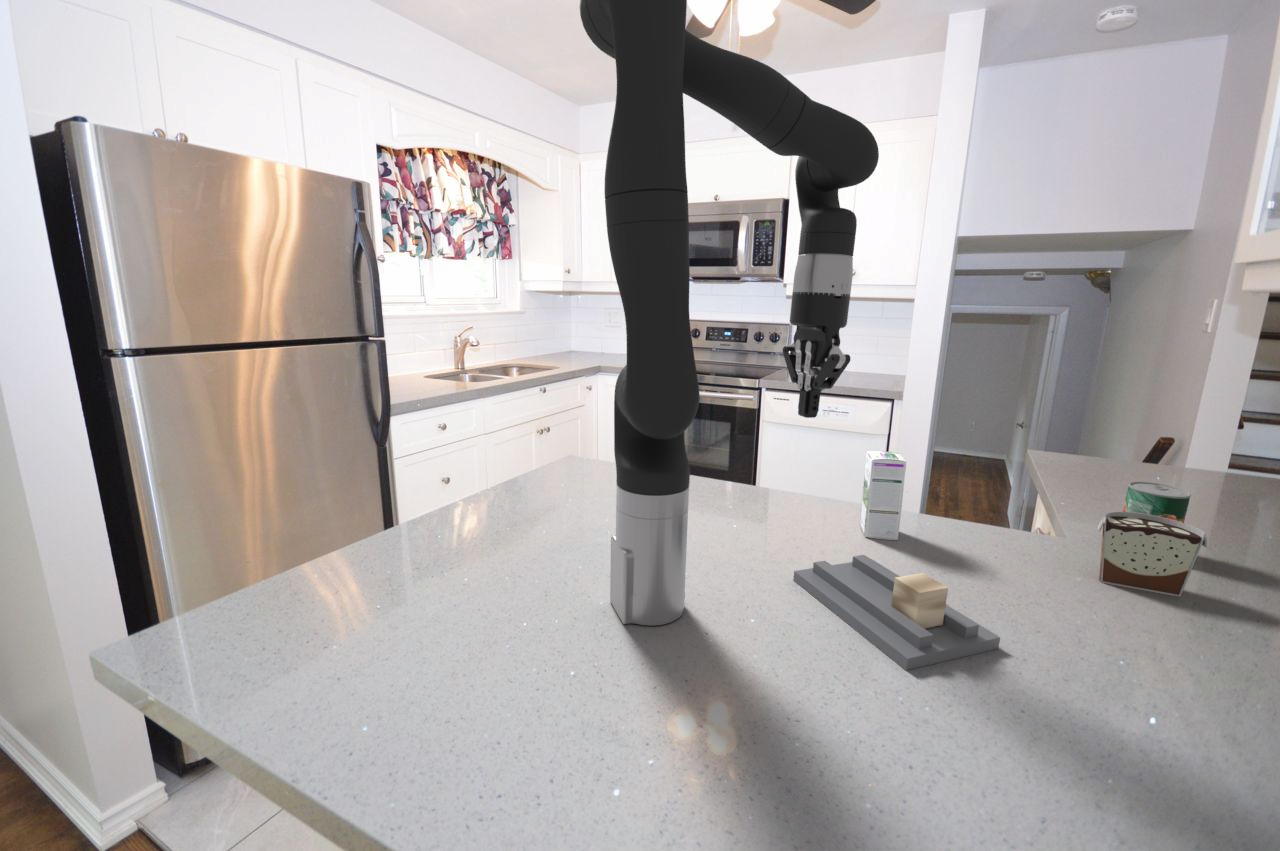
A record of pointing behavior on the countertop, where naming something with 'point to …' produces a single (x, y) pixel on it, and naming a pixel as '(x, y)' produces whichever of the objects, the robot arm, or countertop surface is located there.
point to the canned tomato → (1157, 500)
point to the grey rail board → (891, 614)
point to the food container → (1148, 552)
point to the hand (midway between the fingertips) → (807, 416)
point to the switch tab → (920, 599)
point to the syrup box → (882, 495)
